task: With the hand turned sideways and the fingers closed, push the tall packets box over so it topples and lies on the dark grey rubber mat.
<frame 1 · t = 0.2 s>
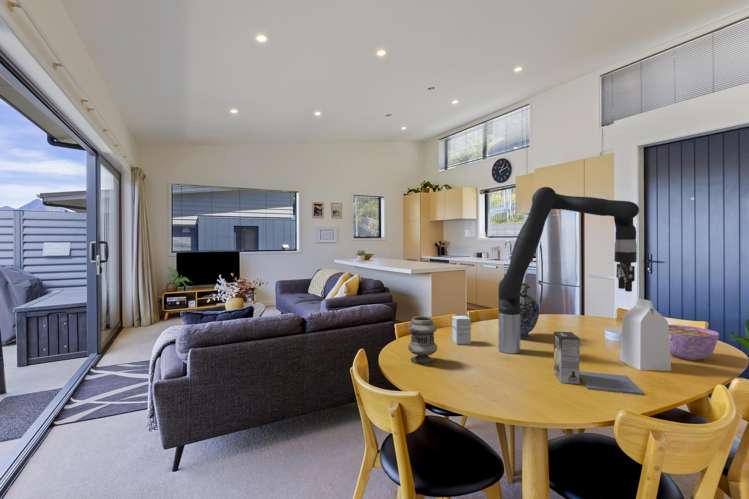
hand: (624, 290, 149), 29 cm above the table, tool pointing down, fingers open, 8 cm apart
supplement box: (461, 342, 178), on the table
milk: (644, 365, 143), on the table
decorative vase: (519, 337, 187), on the table
apothecary jar: (422, 361, 151), on the table
coffee box: (566, 379, 130), on the table
bowl of food: (686, 357, 153), on the table
grey mat: (608, 382, 125), on the table
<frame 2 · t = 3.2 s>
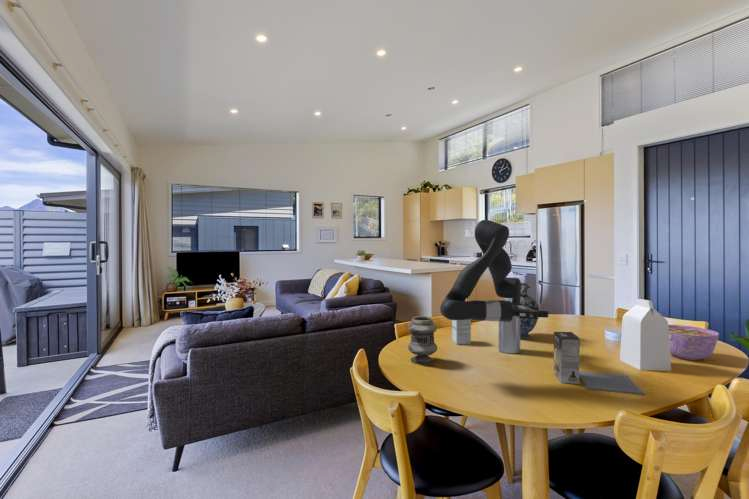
hand: (542, 312, 129), 24 cm above the table, tool horizontal, fingers open, 8 cm apart
nothing on the table moved.
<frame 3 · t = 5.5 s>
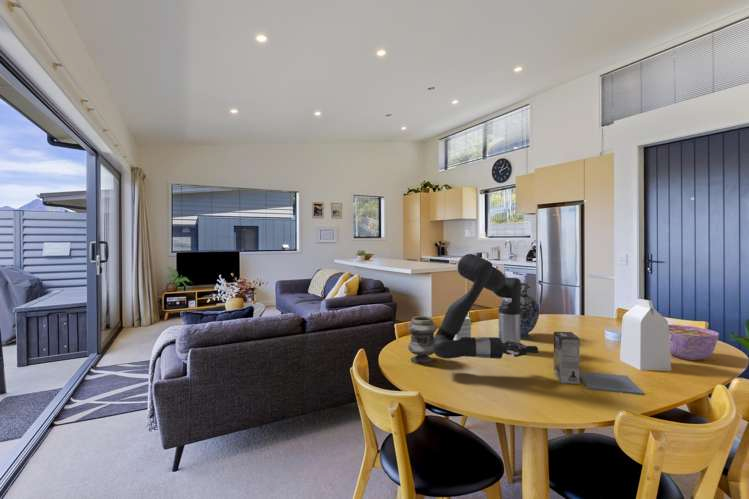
hand: (537, 349, 130), 10 cm above the table, tool horizontal, fingers closed
nothing on the table moved.
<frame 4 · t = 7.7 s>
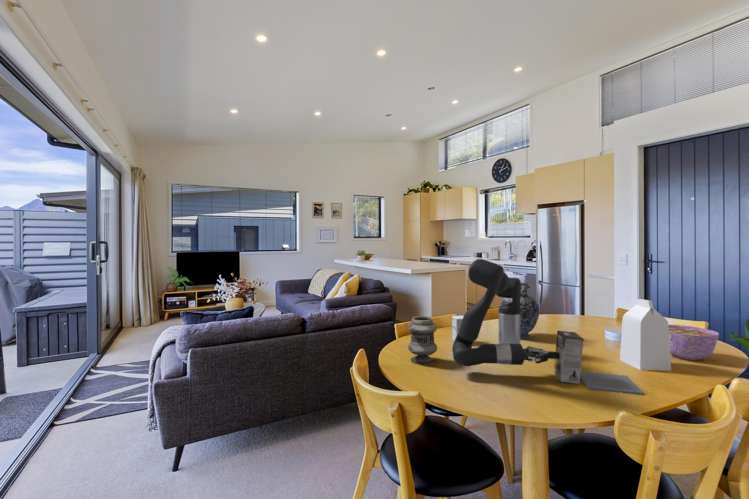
hand: (558, 355, 130), 8 cm above the table, tool horizontal, fingers closed
coffee box: (566, 378, 130), on the table, touching gripper
everything else where it was.
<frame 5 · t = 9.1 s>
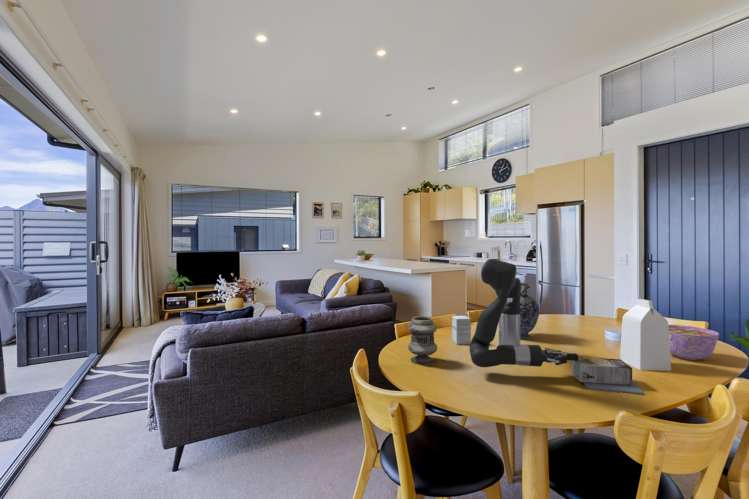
hand: (577, 357, 129), 8 cm above the table, tool horizontal, fingers closed
coffee box: (574, 368, 129), point 4 cm above the table, touching grey mat
everything else where it was.
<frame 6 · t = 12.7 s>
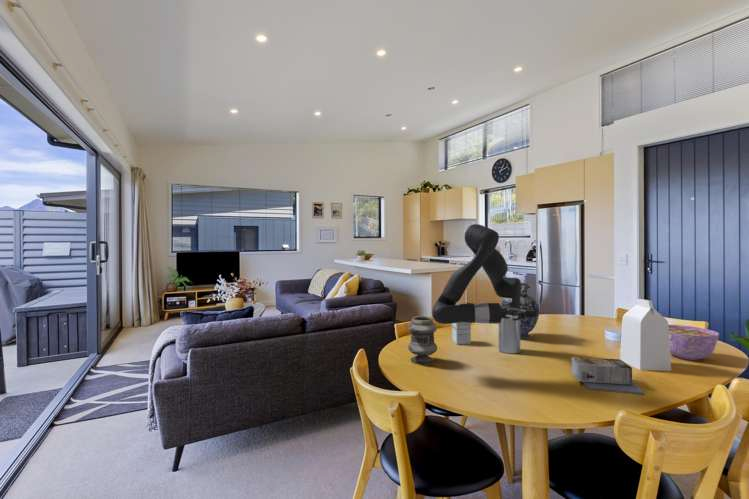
hand: (536, 313, 131), 23 cm above the table, tool horizontal, fingers closed
nothing on the table moved.
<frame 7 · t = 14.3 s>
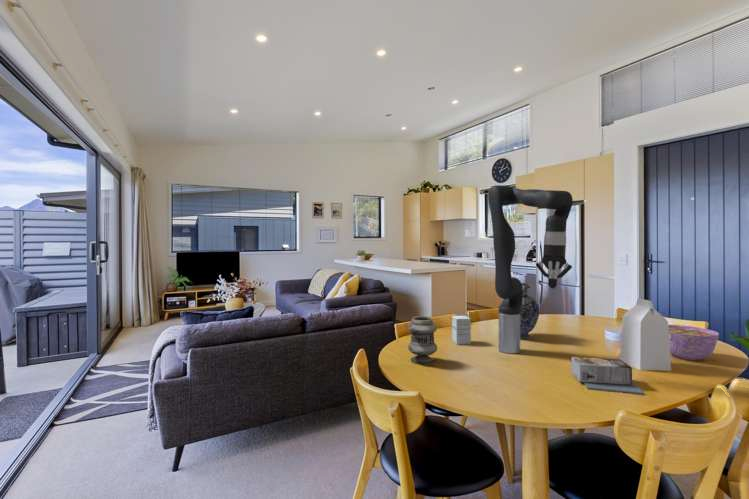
hand: (552, 288, 139), 31 cm above the table, tool pointing down, fingers closed
nothing on the table moved.
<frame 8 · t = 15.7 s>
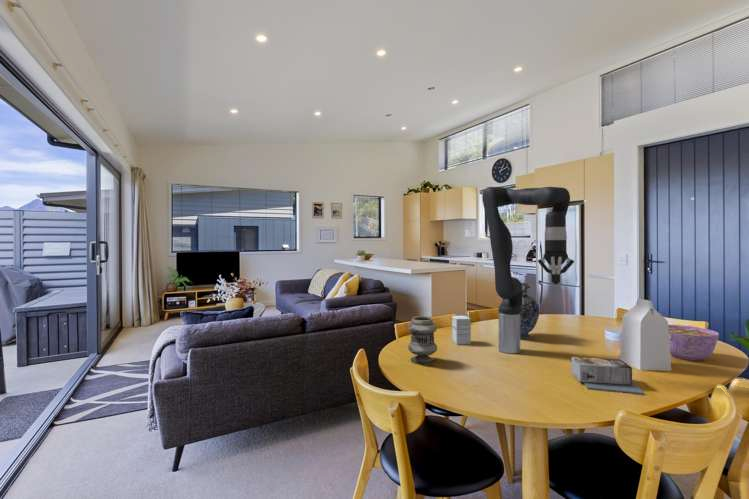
hand: (555, 284, 139), 33 cm above the table, tool pointing down, fingers closed
nothing on the table moved.
at the end: coffee box tilted 90°; coffee box touching grey mat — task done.
